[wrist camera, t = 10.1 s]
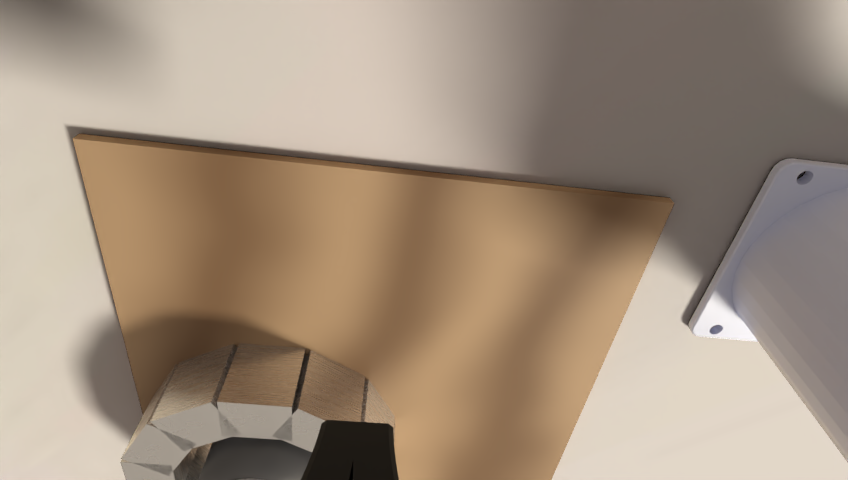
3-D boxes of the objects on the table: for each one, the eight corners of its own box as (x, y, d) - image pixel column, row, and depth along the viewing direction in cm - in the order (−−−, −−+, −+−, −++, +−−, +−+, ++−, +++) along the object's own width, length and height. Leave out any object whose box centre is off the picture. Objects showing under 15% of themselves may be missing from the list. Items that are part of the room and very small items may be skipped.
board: (669, 197, 19) (674, 203, 19) (534, 507, 30) (535, 514, 30) (79, 133, 17) (72, 138, 17) (166, 486, 28) (163, 493, 28)
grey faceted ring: (404, 356, 23) (403, 415, 20) (382, 500, 29) (380, 559, 26) (135, 334, 22) (98, 393, 19) (171, 488, 28) (147, 548, 25)
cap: (328, 396, 24) (315, 472, 21) (329, 463, 27) (317, 537, 24) (214, 390, 24) (184, 465, 21) (227, 457, 26) (202, 532, 23)
